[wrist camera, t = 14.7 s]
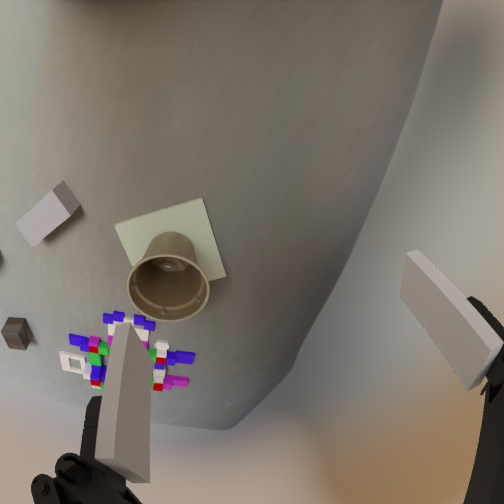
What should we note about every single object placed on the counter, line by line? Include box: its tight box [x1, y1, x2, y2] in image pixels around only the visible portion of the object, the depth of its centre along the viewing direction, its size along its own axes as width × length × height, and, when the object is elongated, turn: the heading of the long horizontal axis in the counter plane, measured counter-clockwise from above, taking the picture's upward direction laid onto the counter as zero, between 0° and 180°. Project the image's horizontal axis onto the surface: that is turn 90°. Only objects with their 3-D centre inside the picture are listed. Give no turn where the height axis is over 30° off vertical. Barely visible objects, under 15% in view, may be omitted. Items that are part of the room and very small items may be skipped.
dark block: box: [1, 317, 33, 350], centre depth 42 cm, size 4×4×4 cm
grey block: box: [15, 180, 80, 248], centre depth 34 cm, size 4×8×4 cm, turn 117°
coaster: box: [114, 197, 226, 281], centre depth 42 cm, size 12×12×1 cm
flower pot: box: [126, 232, 210, 322], centre depth 38 cm, size 9×9×9 cm
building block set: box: [59, 311, 195, 391], centre depth 49 cm, size 25×20×4 cm
